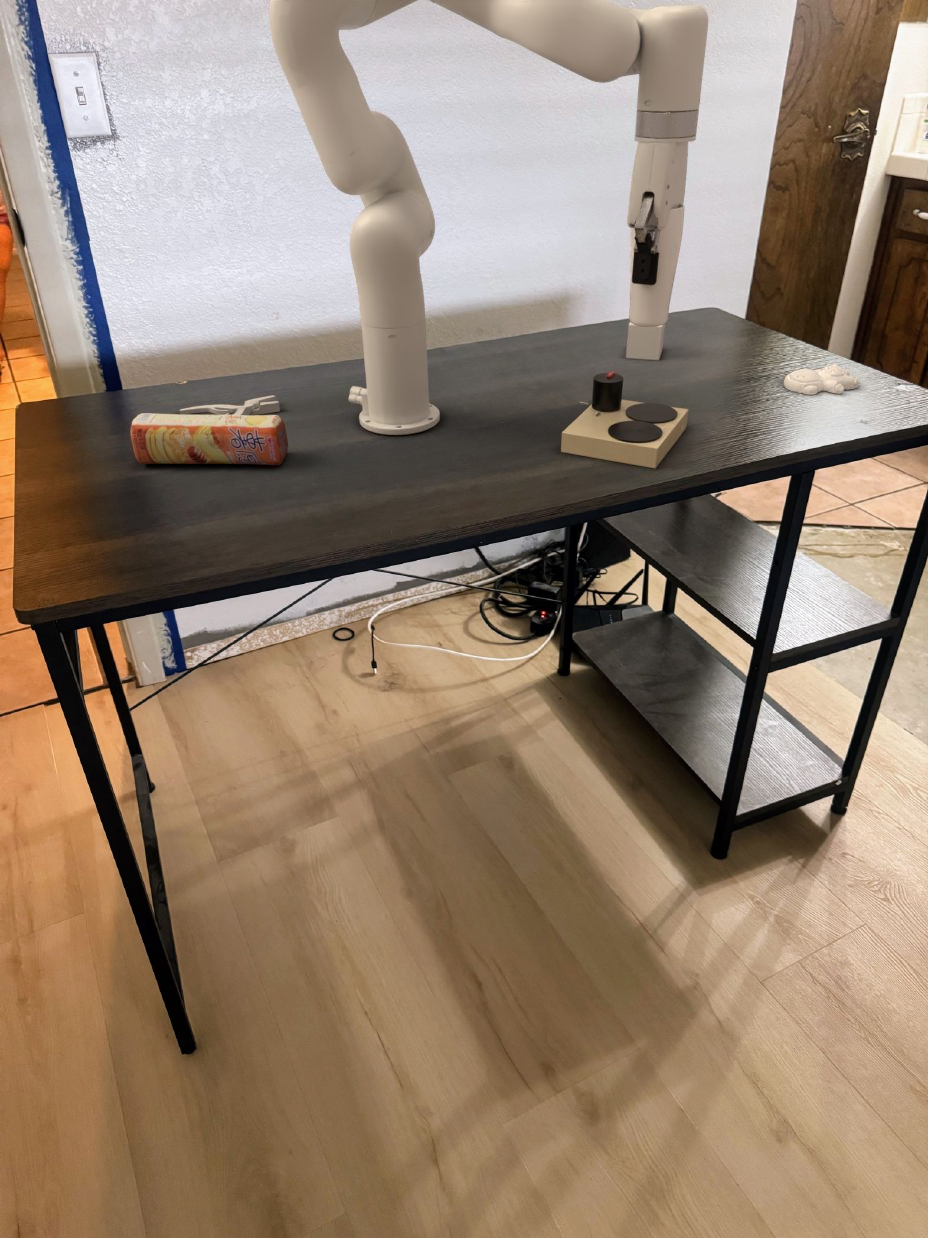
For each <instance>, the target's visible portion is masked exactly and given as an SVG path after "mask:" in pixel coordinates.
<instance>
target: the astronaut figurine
mask: <svg viewBox="0 0 928 1238" xmlns="http://www.w3.org/2000/svg"><path fill="white" fill-rule="evenodd" d="M860 384H861V381H860V379H858V377H854V376H853V375H851V373H850V371H848V370H847V369H845V368H842V367H840V366H838V364H836V363H834V364H830V365H828V366H824V367H823V368H822V369H820V368H818V369H815V370H814V369H811V368H801V369H796V370H794V371H791V372H790V373H788V374H787V375H786V376H785V378H784V379H783V387H784V388H785V389H786V390H788V391H791V392H793V393H798V394H804V395H807V396H814V395H817V393H820V392H823V391H825V392H828V393H832V394H836V395H837V394H838V395H841V394H843V393H844V392H845V390H847V391H848V390H854V389H857V388H859V386H860Z"/></svg>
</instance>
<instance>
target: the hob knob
mask: <svg viewBox="0 0 928 1238" xmlns="http://www.w3.org/2000/svg"><path fill="white" fill-rule="evenodd" d="M623 389H624V377H623V376H622V374H619V373H616V371H613V370H612V371H610V372H602V373H598V374H595V375H593V377H592V395H591V396H592V397H591V404H592V408H593V409H594V410H597V411H601V412H614V411H617V410H619V409H620V408H621V402H622V400H623Z"/></svg>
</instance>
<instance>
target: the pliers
mask: <svg viewBox="0 0 928 1238" xmlns="http://www.w3.org/2000/svg"><path fill="white" fill-rule="evenodd" d="M278 412H281V409H280V402H279V401H278V400H276V395H267V396H262V397H257V398H252V399H248V400H245V401H244V403H243V405H234V404H204V405H195V406H191V407H185V408H181V409H179V413H180V414H179V415H192V414H198V413H211V414H213V415H231V414H232V415H265V414H266V415H267V414H272V413H278Z"/></svg>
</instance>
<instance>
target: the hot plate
mask: <svg viewBox="0 0 928 1238" xmlns="http://www.w3.org/2000/svg"><path fill="white" fill-rule="evenodd" d="M641 403H642V402H640V401H636V400H635V401H634V400H627V399H622V402H621V408H620V409H619V410H617V411H614V412H601V411H597V410H594V409H593V408H592V403H591V404H590V403H589V402H584V401H579V402H578V404H579V405H586V406H587V408H586V409H585V410H584V411H583V412H582V413H581V414H580V415H579V416H577V417H576V418H575V420H573V421H572V422H571V423H570V424H569V425H568V426H567V427H566V428H565V429H564V430H563V431H562V432H561V442H560V443H561V444H560V445H561V446H560V452H561V453H565V454H570V455H576V456H582V457H587V458H593V459H598V460H604V461H610V462H616V463H622V464H627V465H631V466H632V465H634V466H638V467H644V468H649V469H657V468H658V466H659V464H661V462H662V461H663V459H664V458H665V456H667V454H668V453H669V451H670V450H672V447H673V446H674V445H675V443H676V442H677V441H678V440H679V438H680V437H681V436H682V434H683V433H685V430H686V429H687V424H688V418H689V408H681V407H676V406H675V407H673V406H671V407H672V408H674V409H675V410H676V411H677V412H678V416H677V418H676V419H675V420H673V421H670V422H667V423H660V424H654V425H657V426H658V427H660V428H661V429H662V432H663V433H662V436H661V438H659V439H658V440H656V441H653V442H648V443H628V442H623V441H619V440H616V439H614V438H612V437H611V436H610V435H609V434H608V428H609V427H610V426H611V425H613V424H615V423H618V422H623V421H634V420H632V419H630V418H628V417H627V416H626V414H625V411H626V409H627V408H628V407H630V406H632V405H635V404H641ZM589 404H590V405H589ZM588 405H589V406H588Z"/></svg>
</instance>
